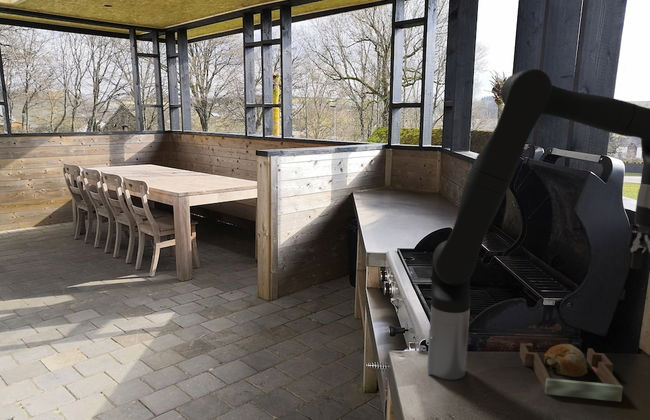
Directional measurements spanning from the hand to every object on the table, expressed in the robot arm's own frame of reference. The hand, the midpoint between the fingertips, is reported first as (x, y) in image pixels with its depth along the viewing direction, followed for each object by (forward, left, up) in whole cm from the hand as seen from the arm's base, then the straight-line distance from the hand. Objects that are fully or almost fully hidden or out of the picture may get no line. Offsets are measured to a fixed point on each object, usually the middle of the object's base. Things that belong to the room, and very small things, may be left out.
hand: (646, 274), depth 112 cm
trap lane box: (-13, +1, -28) cm, 31 cm away
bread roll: (-13, +6, -28) cm, 32 cm away
